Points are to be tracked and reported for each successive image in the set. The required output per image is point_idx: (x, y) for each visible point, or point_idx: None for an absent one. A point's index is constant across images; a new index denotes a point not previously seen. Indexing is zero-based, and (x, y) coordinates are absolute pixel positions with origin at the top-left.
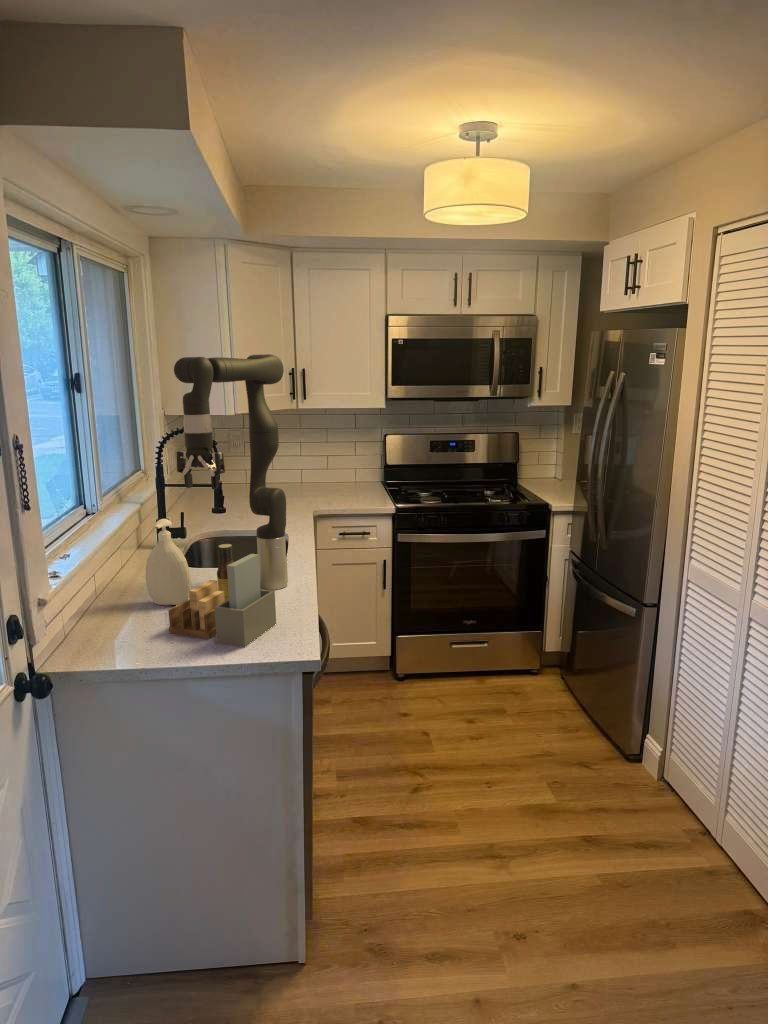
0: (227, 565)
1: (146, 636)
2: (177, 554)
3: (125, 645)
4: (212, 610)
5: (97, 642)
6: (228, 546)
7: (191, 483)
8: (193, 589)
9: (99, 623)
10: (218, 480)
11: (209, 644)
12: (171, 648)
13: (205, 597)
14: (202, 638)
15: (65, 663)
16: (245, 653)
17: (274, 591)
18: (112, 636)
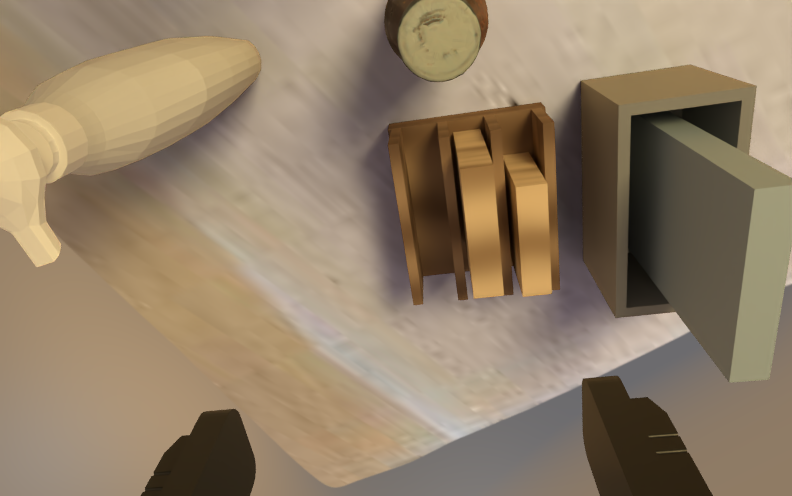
0: (730, 380)
1: (368, 303)
2: (173, 116)
3: (367, 359)
4: (554, 254)
5: (290, 372)
6: (473, 46)
7: (226, 454)
8: (478, 282)
9: (173, 293)
10: (692, 476)
11: (568, 273)
12: (488, 329)
13: (523, 262)
14: None
15: (332, 460)
16: None
17: (755, 87)
18: (288, 336)
